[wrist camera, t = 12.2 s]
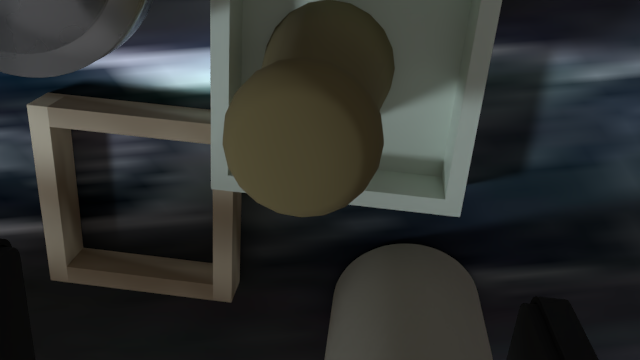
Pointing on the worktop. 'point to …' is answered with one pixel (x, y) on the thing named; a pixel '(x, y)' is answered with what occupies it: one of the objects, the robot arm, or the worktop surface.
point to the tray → (402, 100)
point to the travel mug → (406, 308)
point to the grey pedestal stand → (63, 33)
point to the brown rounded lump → (312, 111)
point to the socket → (63, 206)
